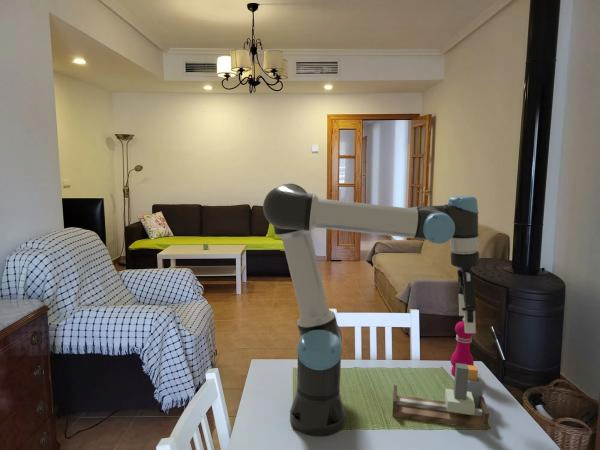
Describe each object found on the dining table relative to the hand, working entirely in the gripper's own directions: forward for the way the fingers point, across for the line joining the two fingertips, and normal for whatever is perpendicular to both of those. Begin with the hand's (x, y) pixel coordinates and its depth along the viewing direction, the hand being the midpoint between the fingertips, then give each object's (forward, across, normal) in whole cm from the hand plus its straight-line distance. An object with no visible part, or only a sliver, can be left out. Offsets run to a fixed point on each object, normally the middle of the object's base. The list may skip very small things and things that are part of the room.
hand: (467, 323), depth 127 cm
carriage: (+21, -7, +4) cm, 23 cm away
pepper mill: (+25, +19, 0) cm, 32 cm away
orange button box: (+25, +1, 0) cm, 25 cm away
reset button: (+20, +1, 0) cm, 20 cm away
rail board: (+24, -8, +9) cm, 27 cm away
